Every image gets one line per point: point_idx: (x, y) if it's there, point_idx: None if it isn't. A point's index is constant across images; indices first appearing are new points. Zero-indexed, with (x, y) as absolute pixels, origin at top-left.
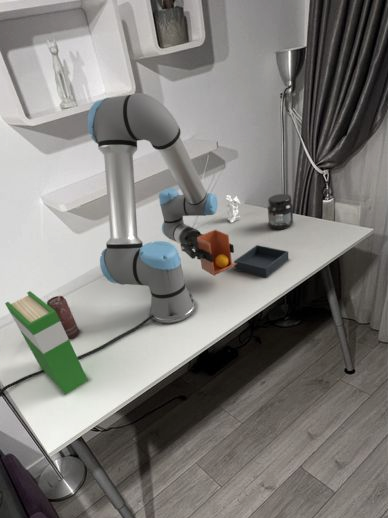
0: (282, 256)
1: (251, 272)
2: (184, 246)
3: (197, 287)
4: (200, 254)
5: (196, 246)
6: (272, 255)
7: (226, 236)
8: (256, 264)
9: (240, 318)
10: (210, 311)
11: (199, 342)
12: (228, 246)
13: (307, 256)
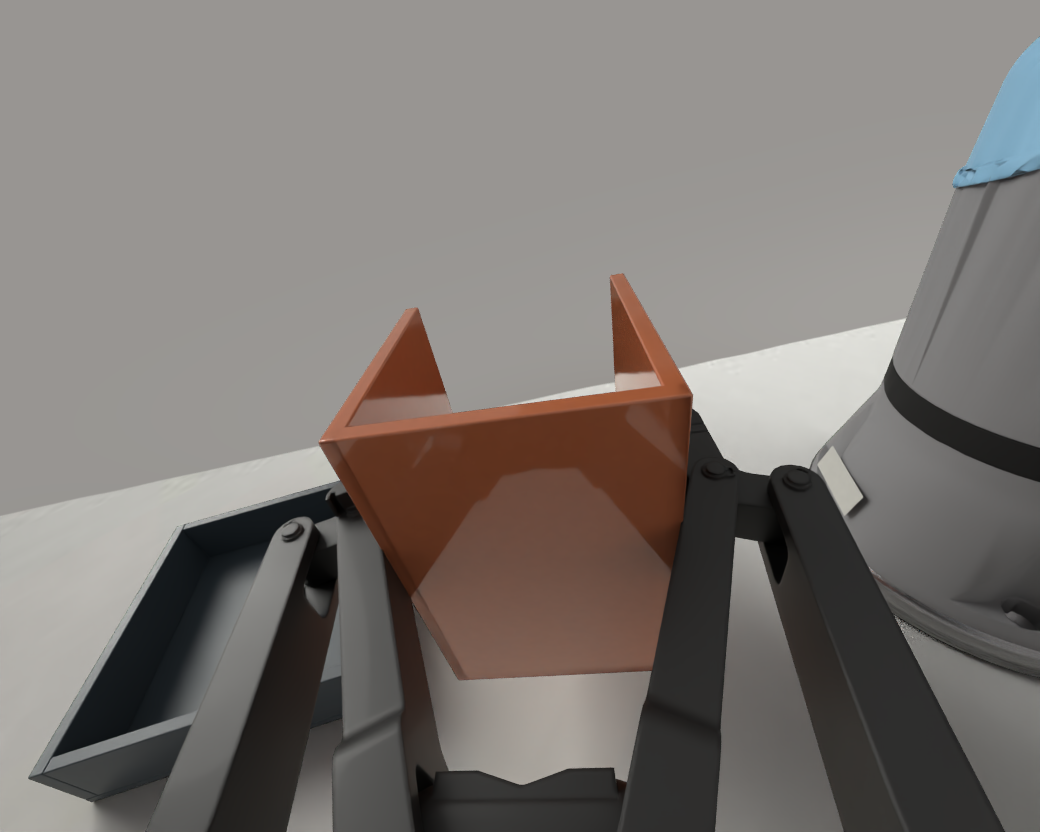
0: (234, 512)
1: None
2: (985, 798)
3: (748, 690)
4: (704, 425)
5: (696, 570)
6: (166, 635)
7: (419, 326)
8: None
9: None
10: (731, 441)
11: (812, 351)
12: (447, 398)
13: (163, 531)
